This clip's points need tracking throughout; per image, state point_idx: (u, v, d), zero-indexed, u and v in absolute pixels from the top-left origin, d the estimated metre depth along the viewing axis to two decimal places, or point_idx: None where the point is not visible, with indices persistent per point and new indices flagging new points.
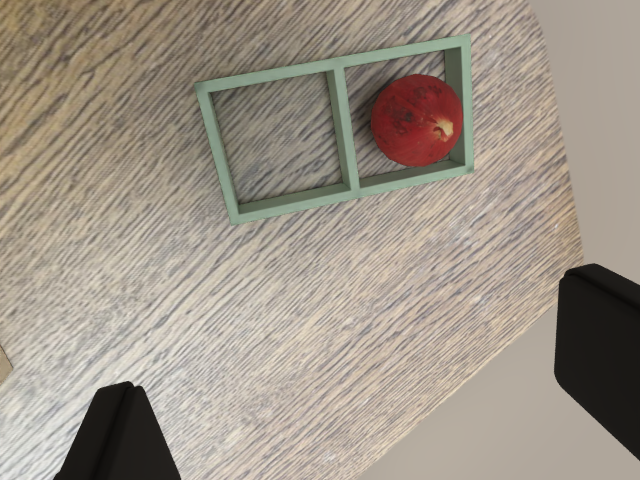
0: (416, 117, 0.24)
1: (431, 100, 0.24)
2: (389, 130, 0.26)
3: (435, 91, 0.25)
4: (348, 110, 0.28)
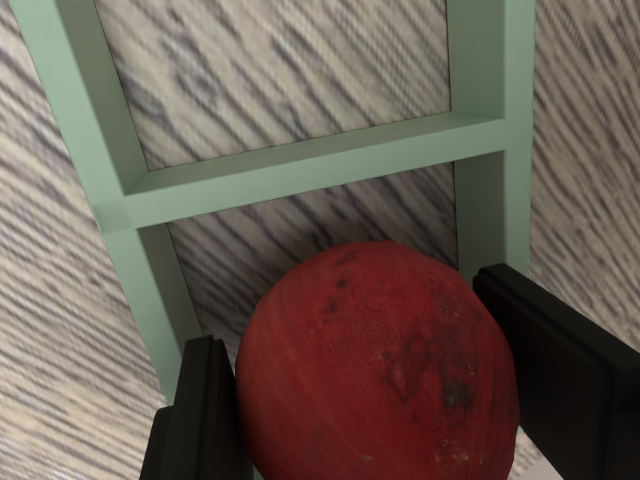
0: (463, 430, 0.06)
1: (507, 462, 0.07)
2: (381, 323, 0.07)
3: None
4: (391, 170, 0.09)
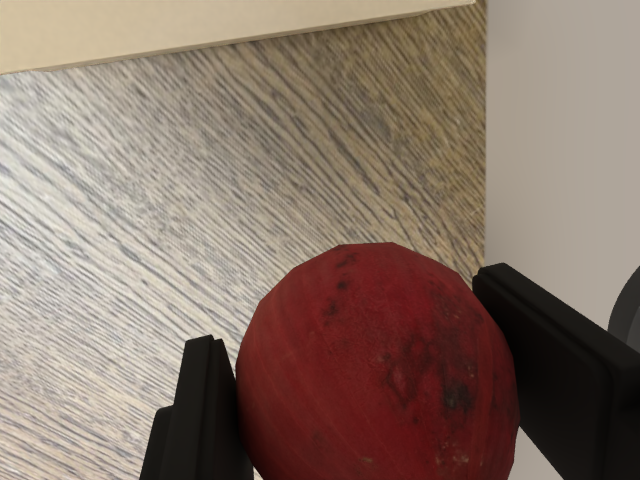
0: (464, 431, 0.06)
1: (507, 464, 0.07)
2: (381, 325, 0.07)
3: None
4: None
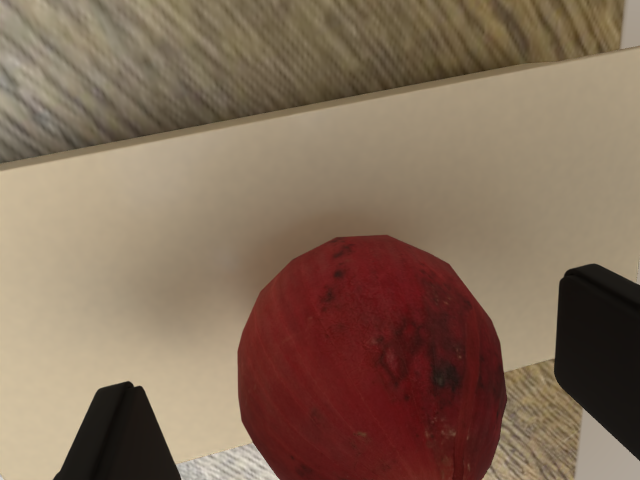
0: (451, 408, 0.07)
1: (493, 440, 0.07)
2: (376, 310, 0.07)
3: None
4: None
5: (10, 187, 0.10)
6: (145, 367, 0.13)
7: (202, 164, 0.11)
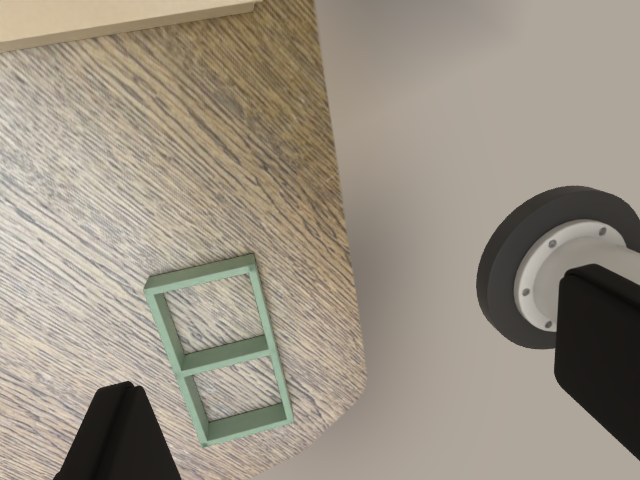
0: None
1: None
2: None
3: None
4: (242, 361, 0.39)
5: None
6: None
7: None
